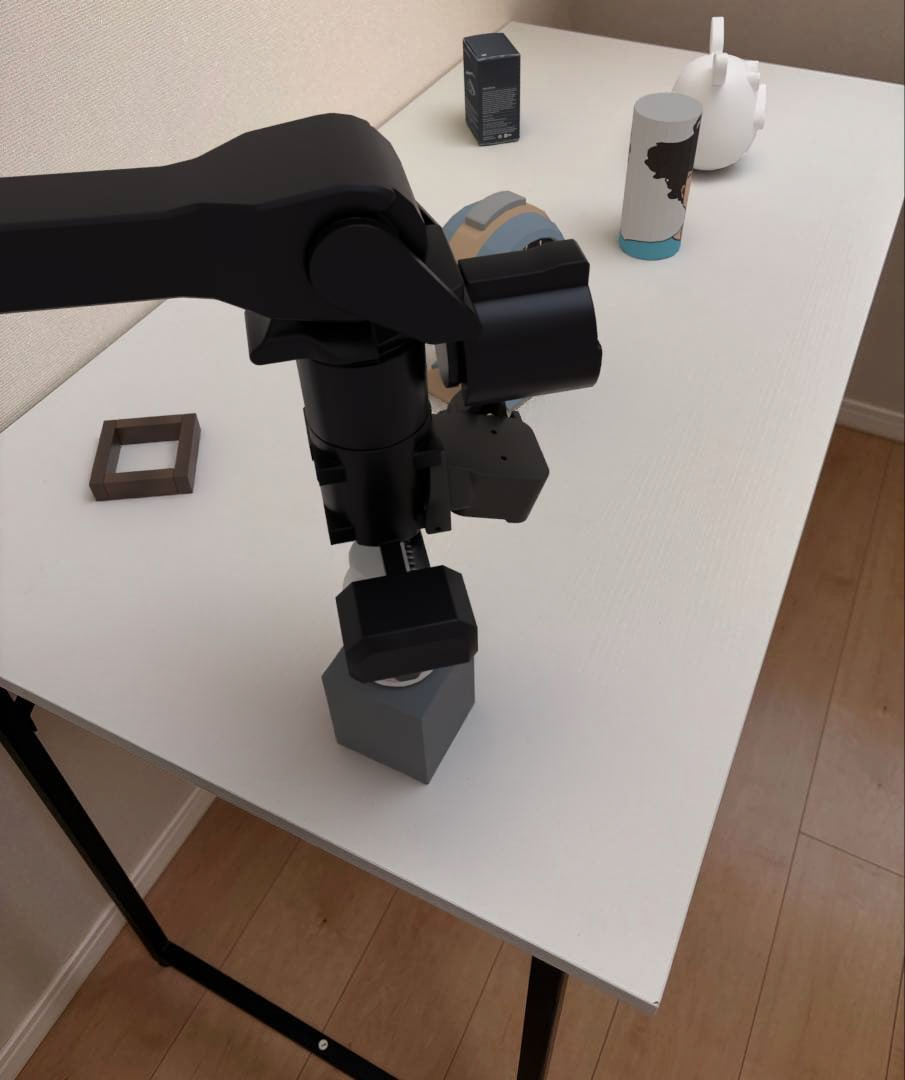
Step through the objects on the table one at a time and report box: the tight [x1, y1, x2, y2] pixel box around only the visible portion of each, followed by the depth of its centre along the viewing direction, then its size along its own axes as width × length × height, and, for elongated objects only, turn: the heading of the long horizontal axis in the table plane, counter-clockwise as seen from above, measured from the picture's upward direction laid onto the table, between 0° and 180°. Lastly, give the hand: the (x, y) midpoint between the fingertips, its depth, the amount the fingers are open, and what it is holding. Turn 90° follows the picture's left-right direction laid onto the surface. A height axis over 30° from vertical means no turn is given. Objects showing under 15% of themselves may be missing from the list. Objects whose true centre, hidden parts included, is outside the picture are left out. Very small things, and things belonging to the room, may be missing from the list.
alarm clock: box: [427, 190, 566, 416], centre depth 83 cm, size 14×10×18 cm
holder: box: [88, 412, 202, 502], centre depth 82 cm, size 8×8×2 cm
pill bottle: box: [342, 541, 433, 687], centre depth 55 cm, size 5×5×10 cm
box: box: [462, 32, 522, 146], centre depth 120 cm, size 8×6×11 cm
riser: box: [321, 645, 476, 785], centre depth 61 cm, size 7×7×8 cm
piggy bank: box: [670, 16, 768, 171], centre depth 110 cm, size 12×12×15 cm
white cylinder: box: [618, 91, 703, 261], centre depth 99 cm, size 7×7×15 cm
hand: (394, 614), depth 55 cm, fingers open, 9 cm apart
